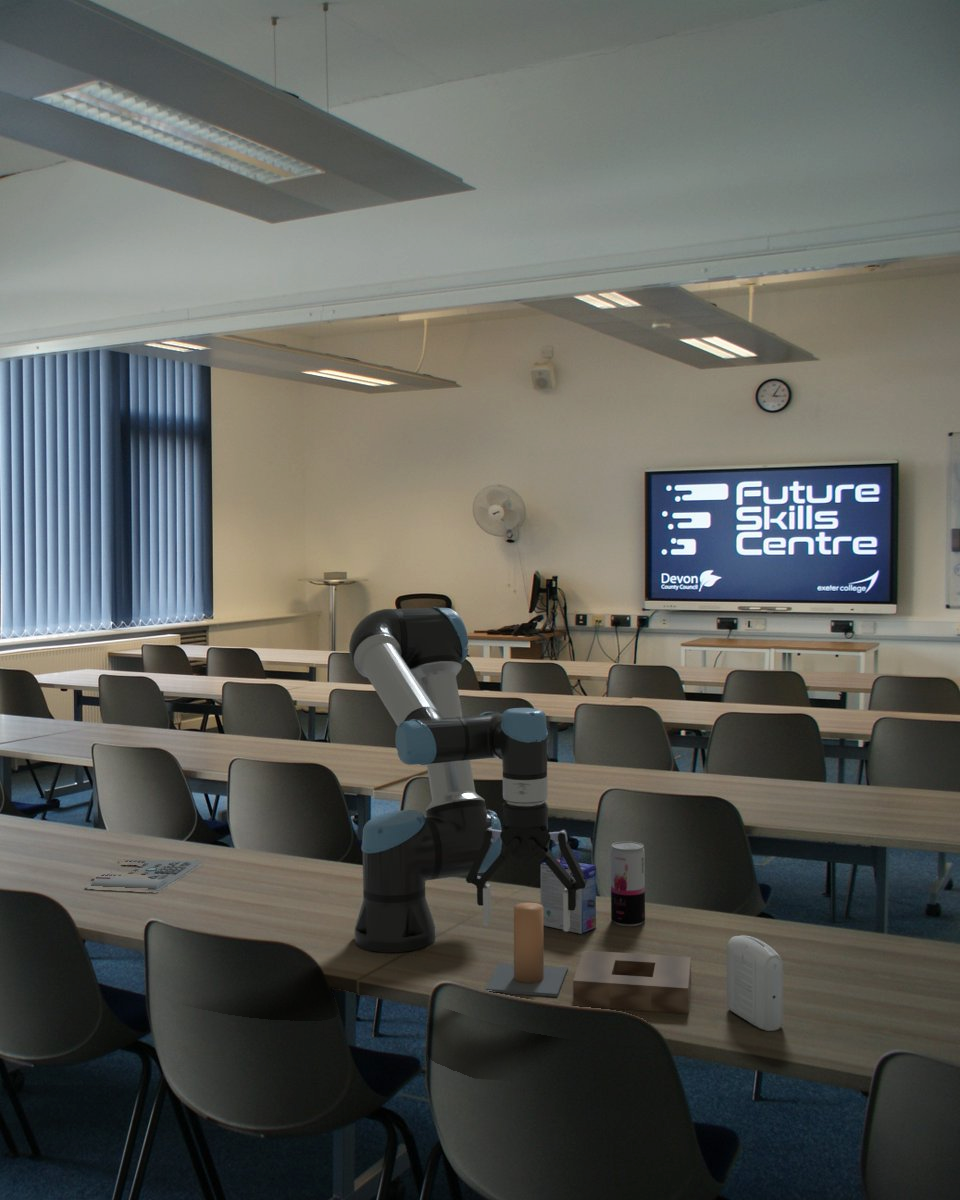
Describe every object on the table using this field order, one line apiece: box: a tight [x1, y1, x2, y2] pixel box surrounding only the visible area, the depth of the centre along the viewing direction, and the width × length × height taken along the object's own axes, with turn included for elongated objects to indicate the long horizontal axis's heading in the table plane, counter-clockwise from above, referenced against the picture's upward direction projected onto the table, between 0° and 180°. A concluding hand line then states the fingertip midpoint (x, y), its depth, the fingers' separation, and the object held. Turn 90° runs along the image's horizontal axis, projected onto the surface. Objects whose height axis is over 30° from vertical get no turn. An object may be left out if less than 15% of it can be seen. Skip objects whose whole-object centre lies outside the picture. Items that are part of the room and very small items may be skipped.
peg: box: [513, 902, 545, 983], centre depth 190 cm, size 5×5×12 cm
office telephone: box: [90, 859, 204, 891], centre depth 257 cm, size 23×3×20 cm
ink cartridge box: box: [539, 850, 597, 935], centre depth 218 cm, size 10×6×14 cm, turn 53°
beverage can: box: [610, 840, 646, 927], centre depth 220 cm, size 6×6×15 cm
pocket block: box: [572, 950, 692, 1015], centre depth 185 cm, size 18×14×4 cm
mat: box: [484, 962, 569, 998], centre depth 190 cm, size 12×12×1 cm
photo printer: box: [726, 934, 784, 1032], centre depth 174 cm, size 10×4×12 cm, turn 24°
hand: (526, 926), depth 190 cm, fingers open, 13 cm apart
